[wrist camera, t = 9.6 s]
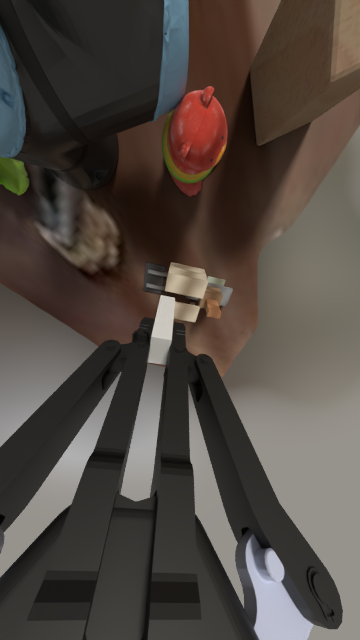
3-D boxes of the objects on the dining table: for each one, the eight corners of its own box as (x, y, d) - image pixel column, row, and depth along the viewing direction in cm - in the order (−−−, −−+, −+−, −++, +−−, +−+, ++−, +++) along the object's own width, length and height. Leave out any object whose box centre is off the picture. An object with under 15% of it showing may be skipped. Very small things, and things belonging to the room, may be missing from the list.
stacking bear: (193, 201, 38) (204, 206, 24) (153, 165, 34) (137, 146, 20) (227, 144, 33) (269, 107, 18) (185, 96, 29) (195, 2, 15)
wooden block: (313, 121, 31) (465, 17, 14) (256, 148, 33) (329, 85, 16) (316, 30, 26) (556, -297, 9) (248, 68, 28) (343, -142, 11)
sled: (184, 296, 49) (184, 319, 39) (189, 278, 46) (190, 298, 36) (225, 304, 50) (235, 329, 40) (231, 288, 47) (244, 310, 37)
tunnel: (142, 294, 50) (135, 311, 42) (147, 256, 44) (138, 266, 37) (214, 309, 52) (219, 327, 45) (227, 274, 46) (236, 288, 39)
